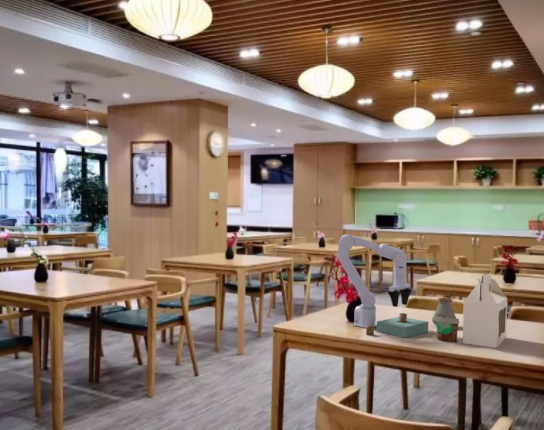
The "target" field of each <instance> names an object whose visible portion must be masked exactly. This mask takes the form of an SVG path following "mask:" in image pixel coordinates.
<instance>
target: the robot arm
mask: <svg viewBox="0 0 544 430" xmlns="http://www.w3.org/2000/svg"><path fill="white" fill-rule="evenodd" d="M353 246H354V247H355V248H357V247H363V248H367V249H369V250H372V251H376V252H377V254H378V255H379V256H381V257H384V258H386V259H389V260H391V261H393V260H394V261H393V262H394V263H393V285H391V286H388V290H387V294H388V296H389V297H390V300H391V304H392V307H395V308H397V307H398V305H399V300H400V299H399V298H400V297H401V305H405V306H406V305H408V301H409V297H410V295H411V293H412V292H413V290H412V288H411V286H412V285H411V284H409V283H407V260H408V254H407V253H406V251H404V250H403V249H400V248H399V247H394V246H391V245H390V244H389V243H387V242H386V243H381V244H378V243H375V242H373V241H370V240H368V239H365V238H363V237H360V236H357V235H350V233H349V234H348V233H346V234H343V235H341V237H340V239H339V242H338V246H337V248H338V249H337V259H338V261H339V263H340V264H341V266H342V268H343V269H344V271H345V273H346V274H347V276H348V277H349V279H350V281H351V283H352V284H353V286H354V288H355V290H356V291H357V292H358V295H359V297H360V300H361V304H359V305H357V306H356V307H355V309H354V313H353V314H354V318H353V319H354V320H353V321H354V322H353V323H354V324H353V326H355V327H360V328H361V327H362V328H366V325H374V328H377V323H376V322H377V321H376V318H377V317H376V315H377V314H376V312H377V309H376V308H377V306H376V298H375V295H374V293H373V292H371V291H370V290H369V289H368V287H367V285H366V284H365V282H364V281H363V279H362V277H361V276H360V274H359V272H358V271H357V269H356V267H355V266H354V264H353V262H352V261H351V259H350V257H349V255H350V251H351V250H352V248H353Z"/></svg>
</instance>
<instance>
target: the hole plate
mask: <svg viewBox="0 0 544 430" xmlns="http://www.w3.org/2000/svg"><path fill="white" fill-rule="evenodd" d="M376 325H377V327H376V332H377V333H381V334H385V335H390V336H395V337H401V338H405V339H407V338H410V337H414V336H418V335H422V334H425V333H428V332H429V321H426V320H421V319H416V318H409V317H407V323H401V322H399V316H396V317H392V318H391V317H390V318H387V319H382V320H378V321H376Z"/></svg>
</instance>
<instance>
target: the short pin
mask: <svg viewBox="0 0 544 430" xmlns="http://www.w3.org/2000/svg"><path fill="white" fill-rule="evenodd" d="M365 331H366V332H365V334H366V336H370V337H371V336H372V337H373V336H374V335H375V332H374V331H375V327H374V325H366V329H365Z"/></svg>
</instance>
